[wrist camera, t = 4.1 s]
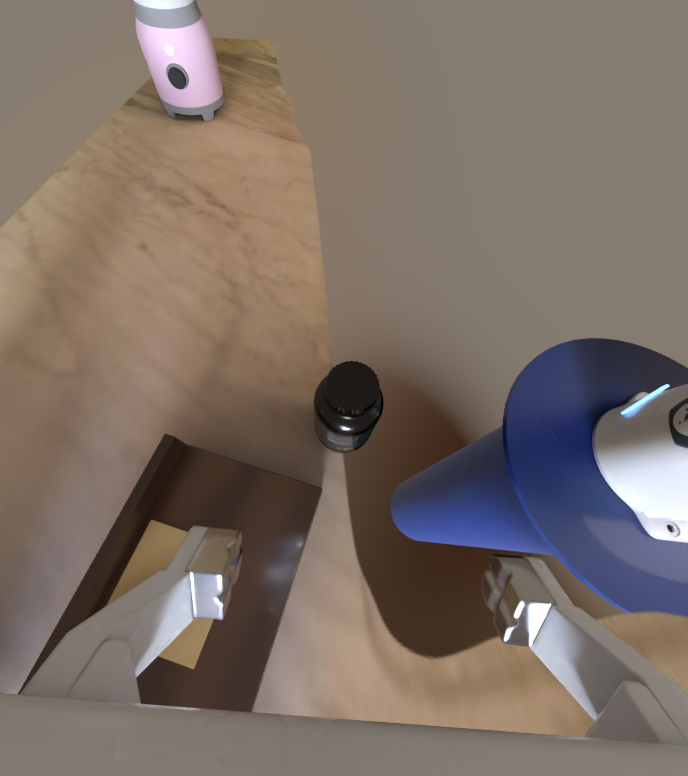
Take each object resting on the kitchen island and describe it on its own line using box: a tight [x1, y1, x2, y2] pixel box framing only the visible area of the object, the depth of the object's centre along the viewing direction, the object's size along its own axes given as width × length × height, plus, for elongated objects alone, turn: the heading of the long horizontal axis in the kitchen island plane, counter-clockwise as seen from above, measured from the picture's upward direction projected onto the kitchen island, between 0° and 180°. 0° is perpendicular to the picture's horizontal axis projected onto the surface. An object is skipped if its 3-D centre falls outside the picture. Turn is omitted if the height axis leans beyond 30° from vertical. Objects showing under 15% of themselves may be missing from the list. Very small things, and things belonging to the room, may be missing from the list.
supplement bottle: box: [314, 361, 383, 453], centre depth 33 cm, size 7×7×12 cm
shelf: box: [18, 434, 322, 712], centre depth 29 cm, size 16×20×6 cm
